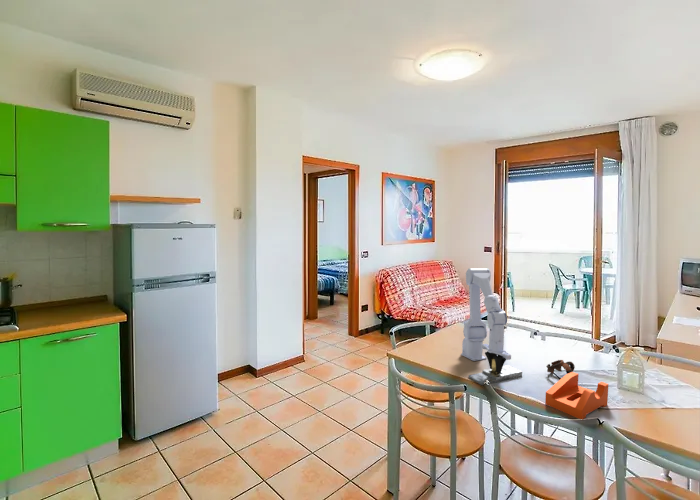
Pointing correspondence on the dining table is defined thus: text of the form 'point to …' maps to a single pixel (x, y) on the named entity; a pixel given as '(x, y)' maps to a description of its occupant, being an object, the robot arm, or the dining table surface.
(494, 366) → the brass pin
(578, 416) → the orange notched block
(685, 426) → the dining table surface
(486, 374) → the white grey flat block
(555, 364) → the brown jointed arch
